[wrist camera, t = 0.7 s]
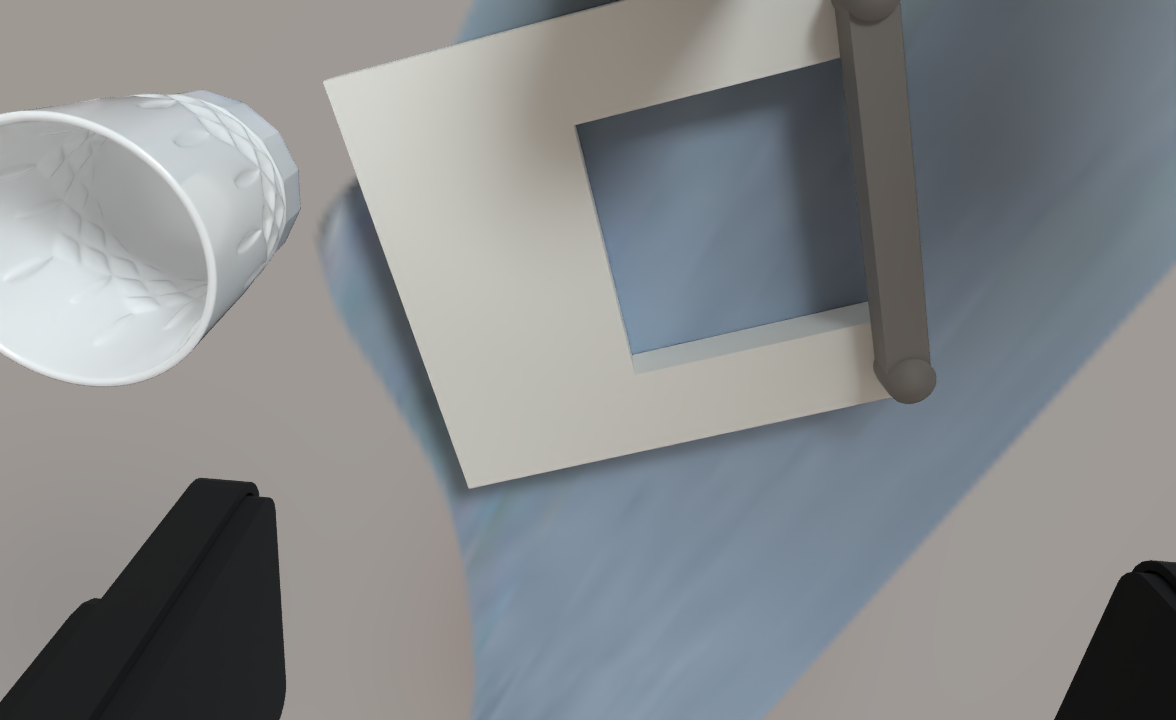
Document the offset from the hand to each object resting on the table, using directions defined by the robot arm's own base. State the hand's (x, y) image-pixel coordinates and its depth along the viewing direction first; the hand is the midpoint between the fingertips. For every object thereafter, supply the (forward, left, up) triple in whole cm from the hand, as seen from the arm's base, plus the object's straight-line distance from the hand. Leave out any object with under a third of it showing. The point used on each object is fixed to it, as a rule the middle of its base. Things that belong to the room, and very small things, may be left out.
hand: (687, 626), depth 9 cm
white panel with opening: (0, +3, -25) cm, 25 cm away
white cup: (+15, -3, -25) cm, 29 cm away
